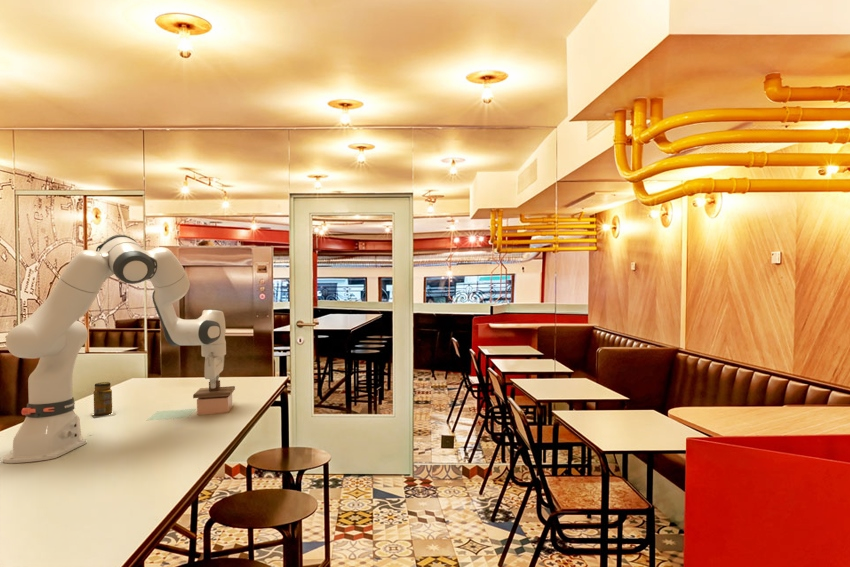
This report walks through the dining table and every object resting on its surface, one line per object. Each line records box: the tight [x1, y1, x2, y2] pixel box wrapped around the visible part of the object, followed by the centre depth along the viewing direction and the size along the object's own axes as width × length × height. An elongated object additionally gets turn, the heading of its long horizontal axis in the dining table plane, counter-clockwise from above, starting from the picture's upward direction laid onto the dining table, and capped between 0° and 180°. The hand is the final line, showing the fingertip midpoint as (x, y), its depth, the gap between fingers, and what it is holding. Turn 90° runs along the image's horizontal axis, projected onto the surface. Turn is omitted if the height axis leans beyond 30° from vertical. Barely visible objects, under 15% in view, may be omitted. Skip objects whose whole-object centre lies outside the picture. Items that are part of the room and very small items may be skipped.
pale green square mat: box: [146, 408, 196, 422], centre depth 199 cm, size 14×14×1 cm
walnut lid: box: [192, 379, 236, 399], centre depth 204 cm, size 13×13×5 cm
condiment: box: [90, 381, 116, 418], centre depth 203 cm, size 7×8×12 cm
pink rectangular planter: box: [196, 393, 233, 416], centre depth 204 cm, size 11×11×6 cm
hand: (214, 386), depth 204 cm, fingers closed on walnut lid, 3 cm apart
